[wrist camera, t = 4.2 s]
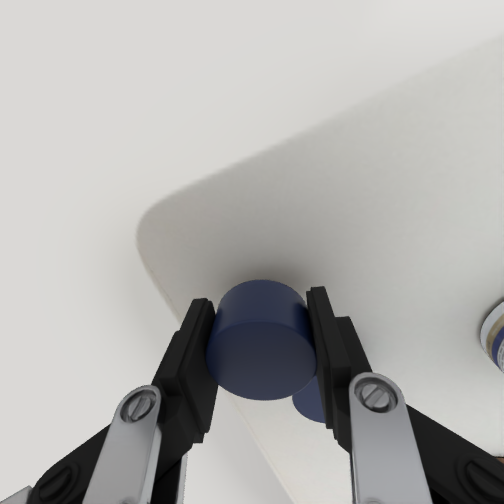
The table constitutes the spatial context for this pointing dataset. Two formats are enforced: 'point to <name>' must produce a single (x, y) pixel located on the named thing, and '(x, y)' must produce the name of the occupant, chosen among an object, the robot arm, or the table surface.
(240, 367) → the dot left
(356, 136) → the table surface
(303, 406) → the dot right
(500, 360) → the pill bottle
